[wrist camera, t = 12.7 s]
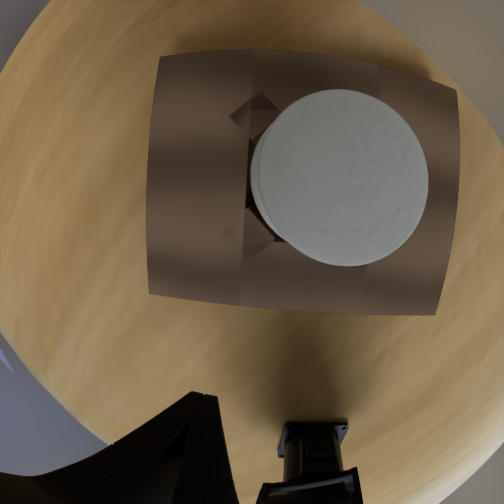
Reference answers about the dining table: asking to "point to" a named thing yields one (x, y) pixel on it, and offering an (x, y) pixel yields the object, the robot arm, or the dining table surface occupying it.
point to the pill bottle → (340, 177)
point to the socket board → (239, 185)
